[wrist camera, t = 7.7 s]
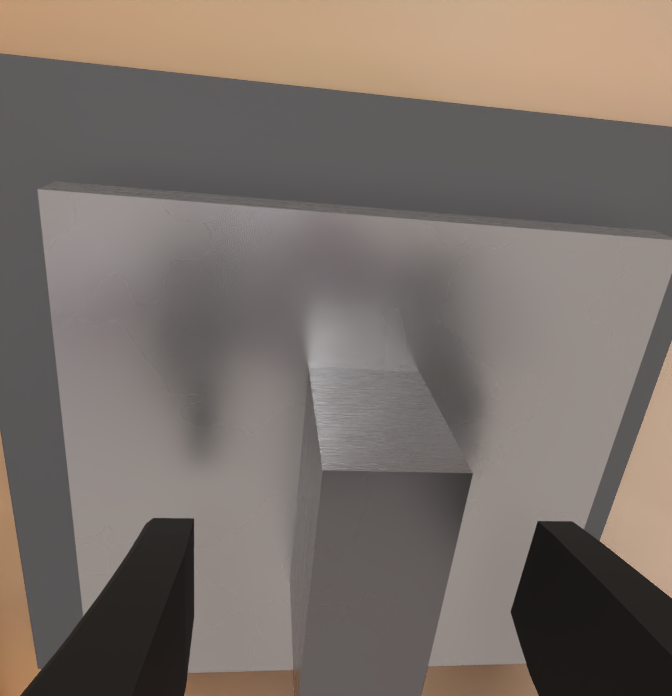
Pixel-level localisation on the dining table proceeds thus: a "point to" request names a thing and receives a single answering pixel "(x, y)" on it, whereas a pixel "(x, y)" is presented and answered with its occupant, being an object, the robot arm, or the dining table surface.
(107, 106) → the dark gray board
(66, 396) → the lid
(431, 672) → the dining table surface
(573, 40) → the dining table surface
